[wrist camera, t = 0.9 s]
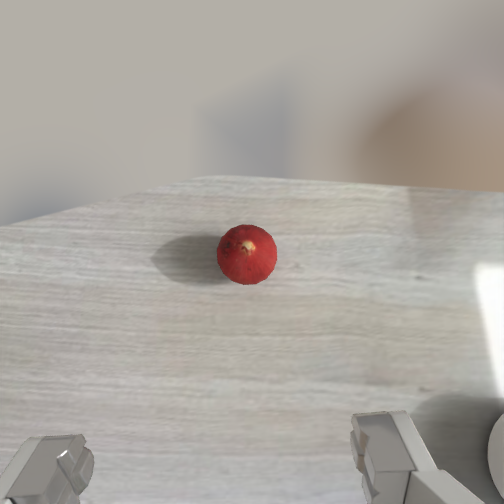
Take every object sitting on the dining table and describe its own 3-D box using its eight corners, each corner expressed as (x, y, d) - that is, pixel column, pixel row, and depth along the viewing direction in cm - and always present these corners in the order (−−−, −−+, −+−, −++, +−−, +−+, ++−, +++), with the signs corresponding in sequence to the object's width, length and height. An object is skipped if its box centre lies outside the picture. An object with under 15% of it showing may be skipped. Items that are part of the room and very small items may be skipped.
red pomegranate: (212, 276, 33) (201, 265, 25) (231, 227, 34) (225, 202, 26) (263, 294, 33) (268, 289, 25) (281, 245, 34) (290, 225, 26)
